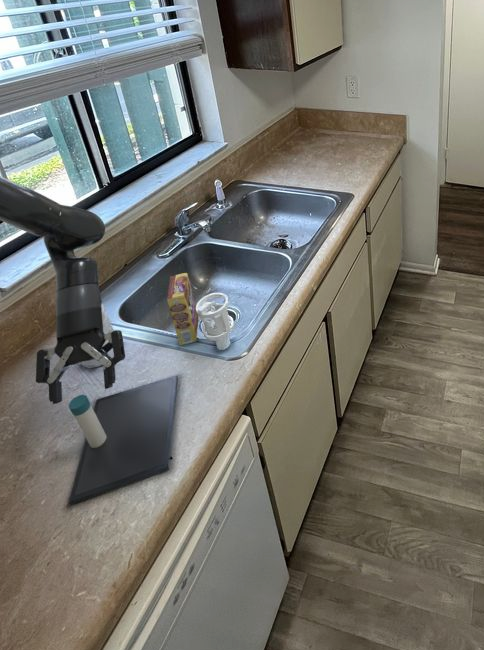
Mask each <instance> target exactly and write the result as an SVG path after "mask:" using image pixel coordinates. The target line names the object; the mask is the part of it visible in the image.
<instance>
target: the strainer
mask: <svg viewBox="0 0 484 650" xmlns="http://www.w3.org/2000/svg"><path fill="white" fill-rule="evenodd" d="M216 298H221V299H223V300H224V301H225V302H224V303H221V302H220V303H219V302H217V300H213V301H209V300H212V299H216ZM229 304H230V302H229V298H228V295H226V293H223V292H212V293H209V294H207V295H205V296H203V297H202V298H201V299H200V300H198V301H197V303H196V311H197V314H198V316H199V320H200V321H201V322H203V327H202V333H203V337H204V338H205V339H206V340H207V341H210V342H211V341H213V342H215V346H216V348H217V350H219V351H224V350H226V349H228V348H229V347H230V345H231V341H230V337H229V335H230V334H231V333H232V332H233V331H234V329H235V320H234V318H233V317H232V315H229V312H228V307H229Z"/></svg>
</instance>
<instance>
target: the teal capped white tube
mask: <svg viewBox="0 0 484 650" xmlns="http://www.w3.org/2000/svg"><path fill="white" fill-rule="evenodd" d="M68 409H69V410H70V412H71V414H72V415H73V417H74V419H75V421H76V423H77V424H78V427H79V428H80V430H81V432H82V433H83V435H84V437H85V440H86V439H87V441H88V443H89V445H90V446H91V447H92V448H96V447H99V446H100V445H102V444H103V443H104V442H105V440H106V434H105V432H104V430H103V428H102V426H101V424H100V422H99V420H98V418H97V416H96V414H95V412H94V408H93V407H92V404H91V402H90V399H89V398H88V396H87V395H86V394H79V395H77V396H75V397H73V398H72V399H71V401H70V402H69V403H68Z"/></svg>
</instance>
